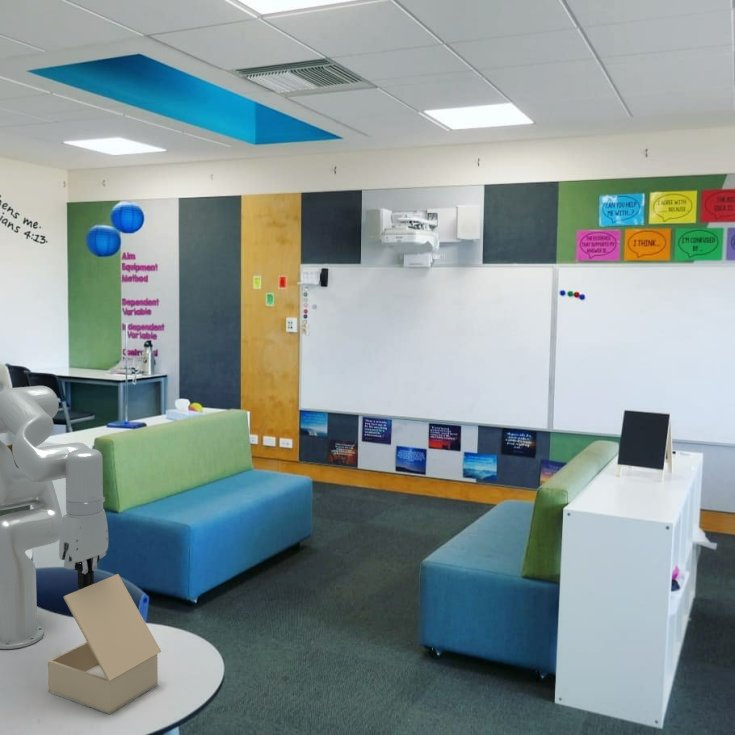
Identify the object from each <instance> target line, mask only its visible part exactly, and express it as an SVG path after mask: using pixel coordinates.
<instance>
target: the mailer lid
mask: <svg viewBox="0 0 735 735" xmlns="http://www.w3.org/2000/svg"><path fill="white" fill-rule="evenodd" d="M62 598H63V599H64V602H65V603H66V605H67V607H68V609H69V611H70V613H71V615H72V616H73V618H74V621H75V623H76V625H78V627H79V629H80V632H81V633H82V636H83V637H84V640H85V641H86V642H87V643H88V645H89V647H90V648H91V650H92V652H93V654H94V656H95V658H96V660H97V662H98V663H99V665H100V667H101V669H102V671H103V673H104V675H105V677H106V678H107V680H108V682H109V681H111V680H113V679H114V678H116V677H118V676H120V675H121V674H123V673H125V672H127V671H128V670H130V669H132V668H134V667H135V666H137V665H139V664H141V663H142V662H144V661H146V660H148V659H149V658H151V657H153V656H155V655H157V656H158V654H160V653H161V652H162V650H161V648H160V646H159V645H158V643H157V641H156V640H155V638H154V636H153V634H152V632H151V631H150V628H149V627H148V625H147V623H146V621H145V619H144V618H143V616H142V614H141V612H140V610H139V609H138V607H137V605H136V603H135V601H134V600H133V598H132V596H131V594H130V592H129V590H128V589H127V587H126V585H125V583H124V582H123V579H122V578H121V576H120V574H119V573H117V574H114V575H112V576H109V577H107V578H104V579H102V580H100V581H98V582H97V581H96V582H94V584H92V585H90V586H87V587H85V588H83V589H78V590H76V591H73V592H71V593H68V594H66V595H63V597H62Z"/></svg>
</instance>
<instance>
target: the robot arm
mask: <svg viewBox="0 0 735 735" xmlns="http://www.w3.org/2000/svg"><path fill="white" fill-rule="evenodd" d="M59 404H60V402H59V399H58V396H57V394H56V393H55V391H54V390H53V389H52V388H50V387H48V386H45V385H35V386H34V385H33V386H24V387H23V386H19V387H18V386H17V387H10V388H7V389H4V390H2V391H0V434H7V433H8V434H9V433H12V434H13V435H14V437H13V440H12V447H11V449H12V450H11V449H10V448H9V447H8V446H7V444H5V443H4V442H3V441H2V440H0V511H4V510H5V511H6V510H11V509H16V508H20V507H22V508H23V507H26V506H31V507H32V508H31V509H26V510H19V511H14V512H10V513H6V514H3V515H0V650H13V649H14V650H15V649H21V648H25V647H28V646H31V645H33V644H35V643H37V642H38V641H40V640H41V639H42V638H43V637H44V635H45V628H44V627H42V626H41V625H40V624H38V610H37V609H38V608H37V607H38V606H37V602H38V601H37V571H36V570H37V569H36V564H35V563H34V560H32V559H31V558H30V556H28V555H27V554H26V552H27V551H28V550H33V549H35V548H39V547H43V546H47V545H52V544H54V543H56V542H59V544H58V545H59V546H58V547H59V548H58V556H59V560H61V561H64V563H63V568H64V569H66V570H74V572H76V573H77V588H78V590H80V589H83V588H85V587H87V586H90V585H92V584H95V576H94V575H95V574H94V573H95V571H96V570H97V567H98V566H97V564H98V563H99V561H100V560H101V559H102V558H104V557H105V556H106V555H107V551H108V549H109V529H108V527H109V526H108V521H107V520H108V519H107V514H106V510H105V509H104V502H105V501H106V497H105V496H104V492H103V490H104V488H103V487H104V484H103V483H104V482H103V481H104V480H103V479H104V478H103V477H104V475H103V474H104V473H103V472H104V470H103V454H102V452H101V451H99V450H98V449H96V448H90V447H89V446H88V445H86V444H85V443H82V442H70V443H69V442H68V443H62V444H60V443H59V444H54V445H47V446H46V445H45V446H42V447H38V446H40V445H41V444H43V443H44V442H45V441H47V439H48V438H50V436H51V434H52V433H53V429H54V420H53V418H54V417H55V416H56V415H57V413H58V411H59V407H60V406H59ZM61 479H65V514H64V515H62V514H63V513H62V510H61V507H60V503H59V500H58V496H57V493H56V489H55V486H54V482H53V481H57V480H61Z"/></svg>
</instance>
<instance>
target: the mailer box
mask: <svg viewBox="0 0 735 735" xmlns="http://www.w3.org/2000/svg"><path fill="white" fill-rule="evenodd" d="M158 677H159V676H158V654H157V655H155V656H153V657H151V658H149V659H148V660H146V661H144V662H142V663H141V664H139V665H137V666H135V667H134V668H132V669H130V670H128V671H127V672H125V673H123V674H121V675H120V676H118V677H116V678H114V679H113V680H111V681H109V682H108V680H107V678H106V677H105V675H104V673H103V671H102V669H101V667H100V665H99V663H98V662H97V660H96V658H95V656H94V654H93V652H92V650H91V648H90V647H89V645H88V643H87V641H86V642H83V643H82V644H79V645H78V646H75V647H73V648H72V649H69V650H68V651H66V652H63V653H62V654H59V655H57V656H56V657H53V658H51V659H49V660H47V680H48V681H47V684H48V685H47V686H48V688H47V689H48V693H50V694H53V695H55V696H58V697H60V698H63V699H66V700H69V701H72V702H75V703H77V704H79V705H82V706H85V707H88V708H90V707H91V709H94V710H96V711H98V712H102V713H105V714H107V715H111V714H113V713H115V712H116V711H117V710H119V709H121V708H123V707H124V706H126V705H127V704H129V703H131V702H132V701H134V700H135V699H138V697H141V696H142V695H143V694H145V693H147V692H148V691H150V690H151V689H153V688H155V687H157V686H158V685H159V684H158Z"/></svg>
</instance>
